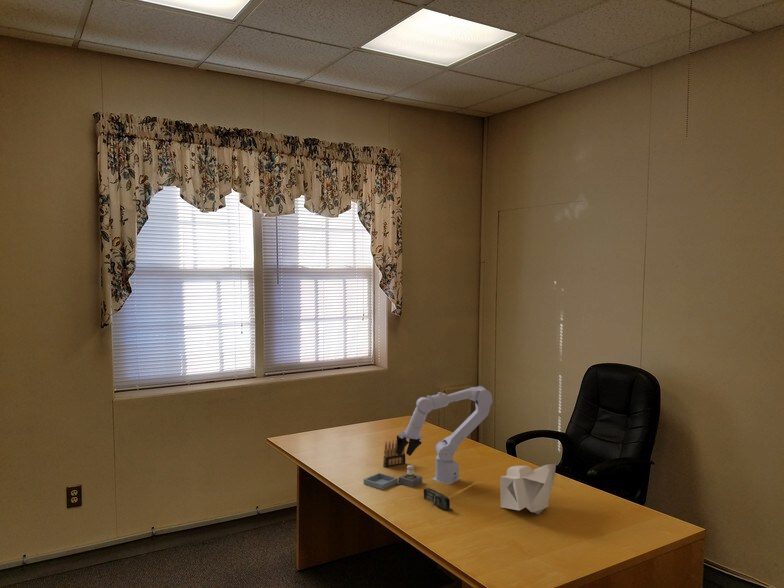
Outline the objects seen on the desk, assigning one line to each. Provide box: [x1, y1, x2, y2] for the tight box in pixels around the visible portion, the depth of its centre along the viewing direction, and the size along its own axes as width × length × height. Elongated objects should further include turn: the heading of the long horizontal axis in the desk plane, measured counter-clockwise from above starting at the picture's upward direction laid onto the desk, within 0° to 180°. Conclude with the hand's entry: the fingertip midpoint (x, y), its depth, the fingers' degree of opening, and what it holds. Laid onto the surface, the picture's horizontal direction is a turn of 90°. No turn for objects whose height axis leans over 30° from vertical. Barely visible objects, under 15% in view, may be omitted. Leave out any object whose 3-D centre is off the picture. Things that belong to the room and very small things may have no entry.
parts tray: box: [363, 472, 399, 491], centre depth 241 cm, size 10×10×2 cm
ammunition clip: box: [382, 439, 406, 469], centre depth 264 cm, size 11×2×12 cm, turn 119°
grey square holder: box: [398, 473, 423, 488], centre depth 242 cm, size 7×7×3 cm
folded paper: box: [499, 463, 557, 516], centre depth 218 cm, size 17×24×17 cm
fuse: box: [406, 464, 415, 479], centre depth 242 cm, size 3×3×7 cm
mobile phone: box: [423, 487, 454, 512], centre depth 220 cm, size 5×3×15 cm
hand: (403, 454), depth 245 cm, fingers open, 7 cm apart
